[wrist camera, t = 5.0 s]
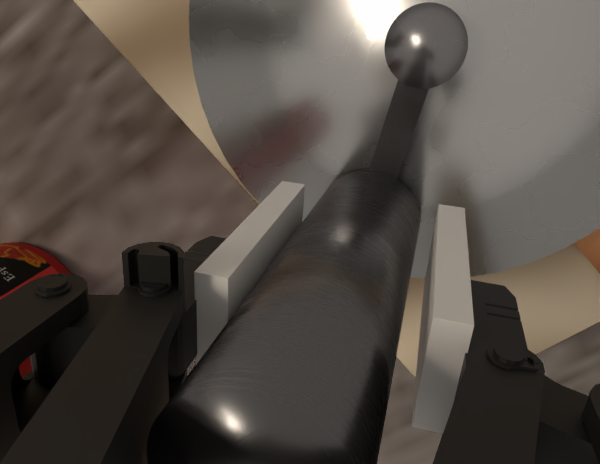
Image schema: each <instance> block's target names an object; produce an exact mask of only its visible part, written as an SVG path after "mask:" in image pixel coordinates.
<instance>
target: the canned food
mask: <svg viewBox="0 0 600 464" xmlns="http://www.w3.org/2000/svg"><path fill="white" fill-rule="evenodd" d="M58 273H64V274H71V273H70V272H69V271H68V270H67V269H66V268H65V267H64V266H63V265H62V264H61V263H60V262H59V261H58V260H57V259H55V258H54V257H53V256H52V255H50V254H48V253H47V252H45V251H43V250H42V249H40V248H37V247H35V246H32V245H30V244H24V243H4V244H0V300H1V299H2V298H4V297H5V296H7V295H9V294H10V293H12V292H14V291H15V290H17V289H18V288H20V287H22V286H23V285H25V284H26V283H28V282H30V281H32V280H35V279H37V278H39V277H43V276H47V275H49V274H58ZM19 371H20V375H21V377H23V376H25V375H27V374H28V373H29V372H30V371H32V366H31V360H30V357H28V358H27V359H26V360H24V361H23V362H22V363H21V364H20V366H19Z"/></svg>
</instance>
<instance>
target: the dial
mask: <svg viewBox="0 0 600 464" xmlns="http://www.w3.org/2000/svg"><path fill="white" fill-rule="evenodd" d="M189 37H190V50H191V57H192V64H193V71H194V77H195V81H196V85H197V89H198V93H199V97H200V101H201V104H202V107H203V110H204V113H205V115H206V118H207V120H208V123H209V126H210V128H211V131H212V134H213V135H214V137H215V139H216V141H217V143H218V145H219V147H220V149H221V151H222V153H223V155H224V157H225V159H226V160H227V162H228V163H229V165H230V166H231V168H232V169H233V171H234V172H235V174H236V175H237V177H238V178H239V180H240V181H241V183H242V184H243V185H244V186H245V187H246V189H247V190H248V191H249V192H250V193H251V194H252V196H253V197H254V198H255V199H256V200H257V201H258V203H259V204H260V203H261V202H262V201H263V200H264V199H265V198H266V197H267V196H268V195H269V194H270V193H271V192H272V191H273V190H274V189H275V188H276V187H277V186H278V185H279V184H280V183H281V182H282V181H285V182H292V183H299V184H305V193H304V206H303V219H302V223H301V225H300V226H299V227H298V229H297V230H296V231H295V233H294V234H293V235H292V237H291V238H290V239H289V241H288V242H287V243H286V245H285V246H284V247H283V249H282V250H281V252H280V253H279V254H278V256H277V257H276V258H275V260H274V261H273V262H272V264H271V265H270V266H269V268H268V269H267V270H266V272H265V273H264V274H263V276H262V277H261V278H260V280H259V281H258V282H257V284H256V285H255V286H254V288H253V289H252V290H251V292H250V293H249V294H248V296H247V297H246V298H245V300H244V301H243V302H242V304H241V305H240V307H239V308H238V309H237V311H236V312H235V313H234V315H233V316H232V317H231V319H230V320H229V321H228V323H227V324H226V325H225V327H224V328H223V329H222V331H221V332H220V333H219V335H218V336H217V337H216V339H215V340H214V341H213V343H212V344H211V345H210V347H209V348H208V349H207V351H206V352H205V353H204V355H203V356H202V357H201V359H200V360H199V362H198V363H197V364H196V366H195V367H194V368H193V370H192V371H191V372H190V374H189V375H188V376H187V378H186V379H185V380H184V382H183V383H182V384H181V386H180V387H179V388H178V390H177V391H176V392H175V394H174V395H173V396H172V398H171V399H170V400H169V402H168V403H167V404H166V406H165V407H164V408H163V410H162V411H161V412H160V414H159V415H158V417H157V418H156V419H155V421H154V423H153V425H152V427H151V429H150V432H149V436H148V440H147V462H148V464H377V460H378V454H379V449H380V443H381V438H382V432H383V427H384V421H385V416H386V410H387V404H388V399H389V393H390V388H391V382H392V377H393V371H394V366H395V360H396V355H397V349H398V344H399V338H400V333H401V327H402V322H403V316H404V310H405V305H406V299H407V294H408V288H409V283H410V277H411V278H425V276H426V270H427V265H428V259H429V254H430V249H431V243H432V238H433V232H434V227H435V222H436V216H437V211H438V205H439V204H441V205H448V206H455V207H462V208H465V219H466V231H467V243H468V255H469V267H470V277H473V276H479V275H485V274H490V273H496V272H501V271H505V270H508V269H511V268H515V267H518V266H522V265H525V264H528V263H532V262H534V261H536V260H539V259H541V258H543V257H546V256H548V255H551V254H553V253H555V252H558V251H560V250H562V249H564V248H566V247H568V246H570V245H571V244H573V243H575V242H577V241H578V240H580V239H582V238H584V237H586V236H587V235H589V234H591V233H593V232H594V231H595V230H597V229H598V228H600V0H190V3H189Z"/></svg>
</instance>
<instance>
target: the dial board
mask: <svg viewBox="0 0 600 464" xmlns="http://www.w3.org/2000/svg"><path fill="white" fill-rule="evenodd" d="M73 1H74V2H75V3H76V4H77V5H78V6H79V7H80V8H81V9H82V10H83V12H84V13H85V14H86V15H87V16H88V17H89V18H90V19H91V20H92V21H93V23H94V24H95V25H96V26H97V27H98V28H99V29H100V30H101V31H102V33H103V34H104V35H105V36H106V37H107V38H108V39H109V40H110V41H111V42H112V44H113V45H114V46H115V47H116V48H117V49H118V50H119V51H120V52H121V53H122V55H123V56H124V57H125V58H126V59H127V60H128V61H129V62H130V63H131V64H132V66H133V67H134V68H135V69H136V70H137V71H138V72H139V73H140V74H141V76H142V77H143V78H144V79H145V80H146V81H147V82H148V83H149V84H150V85H151V87H152V88H153V89H154V90H155V91H156V92H157V93H158V94H159V95H160V96H161V98H162V99H163V100H164V101H165V102H166V103H167V104H168V105H169V106H170V108H171V109H172V110H173V111H174V112H175V113H176V114H177V115H178V116H179V117H180V119H181V120H182V121H183V122H184V123H185V124H186V125H187V126H188V127H189V128H190V130H191V131H192V132H193V133H194V134H195V135H196V136H197V137H198V138H199V139H200V141H201V142H202V143H203V144H204V145H205V146H206V147H207V148H208V149H209V151H210V152H211V153H212V154H213V155H214V156H215V157H216V158H217V159H218V160H219V162H220V163H221V164H222V165H223V166H224V167H225V168H226V169H227V170H228V171H229V173H230V174H231V175H232V176H233V177H234V178H235V179H236V180H237V181H238V183H239V184H240V185H241V186H242V187H243V188H244V189H245V190H246V191H247V192H248V194H249V195H250V196H251V197H252V198H253V199H254V200H255V201H256V202H257V203H258V201H257V200H256V199H255V198H254V197H253V196H252V194H251V193H250V192H249V191H248V190H247V189H246V187H245V186H244V185H243V184H242V183H241V181H240V180H239V178H238V177H237V175H236V174H235V172H234V171H233V169H232V168H231V166H230V165H229V163H228V162H227V160H226V159H225V157H224V155H223V153H222V151H221V149H220V147H219V145H218V143H217V141H216V139H215V137H214V135H213V134H212V131H211V128H210V126H209V123H208V120H207V118H206V115H205V113H204V110H203V107H202V104H201V101H200V97H199V93H198V89H197V85H196V81H195V77H194V71H193V64H192V57H191V50H190V37H189V3H190V0H73ZM258 205H260V204H259V203H258ZM470 280H475V281H481V282H486V283H492V284H498V285H503V286H505V287H506V288H507V289H508V290H509V291H510V292H511V293H512V294H513V295H514V296H515V297H516V301H517V305H518V311H519V314H520V318H521V320H520V321H521V322H522V326H523V331H524V335H525V339H526V344H527V348H528V350H529V351H531V352H532V353H534V354H535V355H536V354H538V353H540V352H542V351H543V350H545V349H547V348H549V347H551V346H553V345H555V344H557V343H559V342H561V341H563V340H565V339H567V338H569V337H571V336H573V335H574V334H576V333H578V332H580V331H582V330H584V329H586V328H588V327H590V326H592V325H594V324H596V323H598V322H600V228H598V229H597V230H595V231H594V232H593V233H591V234H589V235H587V236H586V237H584V238H582V239H580V240H578V241H577V242H575V243H573V244H571V245H570V246H568V247H566V248H564V249H562V250H560V251H558V252H555V253H553V254H551V255H548V256H546V257H543V258H541V259H539V260H536V261H534V262H532V263H528V264H525V265H522V266H518V267H515V268H511V269H508V270H505V271H501V272H496V273H490V274H485V275H479V276H473V277H470ZM424 281H425V278H411V277H410V283H409V288H408V294H407V299H406V305H405V310H404V316H403V322H402V327H401V333H400V338H399V344H398V349H397V355H396V357H397V358H398V359H399V360H400V361H401V362H402V363H403V364H404V366H405V367H406V368H407V369H408V370H409V371H410V372H411V373H412V374H413V376H414V377H415V378H416V368H417V357H418V346H419V335H420V324H421V312H422V301H423V290H424Z"/></svg>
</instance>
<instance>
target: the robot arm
mask: <svg viewBox="0 0 600 464" xmlns="http://www.w3.org/2000/svg"><path fill="white" fill-rule="evenodd" d="M304 193H305V184H299V183H292V182H285V181H282V182H281V183H280V184H279V185H278V186H277V187H276V188H275V189H274V190H273V191H272V192H271V193H270V194H269V195H268V196H267V197H266V198H265V199H264V200H263V201H262V202H261V203H260V205H259V206H258V207H257V208H256V209H255V210H254V211H253V212H252V213H251V214H250V215H249V216H248V217H247V218H246V219H245V220H244V221H243V222H242V223H241V224H240V225H239V226H238V227H237V228H236V229H235V230H234V231H233V232H232V233H231V234H230V235H229V236H228V238H227V239H225V238H220V237H214V236H211V237H208V238H206V239H203V240H201V241H198V242H196V243H195V244H194V245H193V246H192V247H191V248H190V249H189V250H188V252H186V253H184V252H183V250H182V249H181V248H180V247H178V246H175V245H173V244H169V243H163V242H148V243H142V244H137V245H134V246H132V247H129V248H127V249H126V250H125V251H123V252H122V261H123V274H124V288H123V289H122V291H121V292H120V293H119V295H88V291H87V283H86V282H85V280H84V279H83V278H81V277H78V276H76V275H71V274H64V273H58V274H49V275H47V276H43V277H39V278H37V279H35V280H32V281H30V282H28V283H26V284H25V285H23V286H22V287H20V288H18V289H17V290H15V291H14V292H12V293H10V294H9V295H7V296H5V297H4V298H2V299H1V300H0V464H148V462H147V440H148V436H149V432H150V429H151V427H152V425H153V423H154V421H155V419H156V418H157V417H158V415H159V414H160V412H161V411H162V410H163V408H164V407H165V406H166V404H167V403H168V402H169V400H170V399H171V398H172V396H173V395H174V394H175V392H176V391H177V390H178V388H179V387H180V386H181V384H182V383H183V382H184V380H185V379H186V378H187V368H188V366H189V365H190V364H191V362H192V361H193V359H194V358H195V357H196V364H197V363H198V362H199V360H200V359H201V357H202V356H203V355H204V353H205V352H206V351H207V349H208V348H209V347H210V345H211V344H212V343H213V341H214V340H215V339H216V337H217V336H218V335H219V333H220V332H221V331H222V329H223V328H224V327H225V325H226V324H227V323H228V321H229V320H230V319H231V317H232V316H233V315H234V313H235V312H236V311H237V309H238V308H239V307H240V305H241V304H242V302H243V301H244V300H245V298H246V297H247V296H248V294H249V293H250V292H251V290H252V289H253V288H254V286H255V285H256V284H257V282H258V281H259V280H260V278H261V277H262V276H263V274H264V273H265V272H266V270H267V269H268V268H269V266H270V265H271V264H272V262H273V261H274V260H275V258H276V257H277V256H278V254H279V253H280V252H281V250H282V249H283V247H284V246H285V245H286V243H287V242H288V241H289V239H290V238H291V237H292V235H293V234H294V233H295V231H296V230H297V229H298V227H299V226H300V225H301V223H302V219H303V206H304ZM520 320H521V318H520V314H519V311H518V305H517V301H516V297H515V296H514V295H513V294H512V293H511V292H510V291H509V290H508V289H507V288H506V287H505V286H503V285H498V284H492V283H486V282H481V281H475V280H470V267H469V255H468V243H467V231H466V219H465V208H462V207H455V206H448V205H441V204H439V205H438V211H437V216H436V222H435V227H434V232H433V238H432V243H431V249H430V254H429V259H428V265H427V270H426V276H425V281H424V290H423V301H422V312H421V324H420V335H419V346H418V357H417V368H416V380H415V391H414V402H413V413H412V424H411V427H414V428H418V429H422V430H426V431H431V432H435V433H439V434H443V435H442V438H441V441H440V444H439V447H438V450H437V453H436V456H435V459H434V462H433V464H600V384H597V385H595V386H594V387H593V389H592V390H591V391H590V394H589V396H587V395H584V394H582V393H579V392H576V391H574V390H571V389H569V388H567V387H564V386H562V385H560V384H558V383H556V382H554V381H553V380H551V379H549V378H548V377H546V376H545V375H544V373H545V370H544V366H543V363H542V362H541V360H540V359H539V358H538V357H537V356H536V355H535V354H534V353H532V352H531V351H529V350H528V348H527V344H526V339H525V335H524V331H523V326H522V322H521V321H520ZM28 357H30V360H31V366H32V371H30V372H29V373H28V374H27V375H25V376H23V377H21V375H20V371H19V366H20V364H21V363H22V362H23V361H24V360H26V359H27V358H28Z"/></svg>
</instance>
